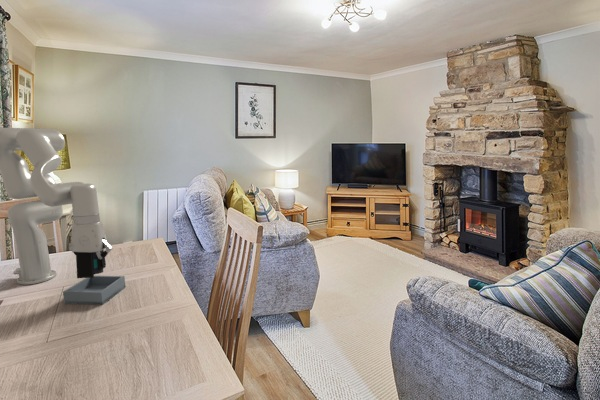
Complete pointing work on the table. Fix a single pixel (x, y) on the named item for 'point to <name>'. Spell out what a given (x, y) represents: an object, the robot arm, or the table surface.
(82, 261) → the speaker
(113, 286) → the open box
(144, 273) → the table surface
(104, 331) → the table surface
